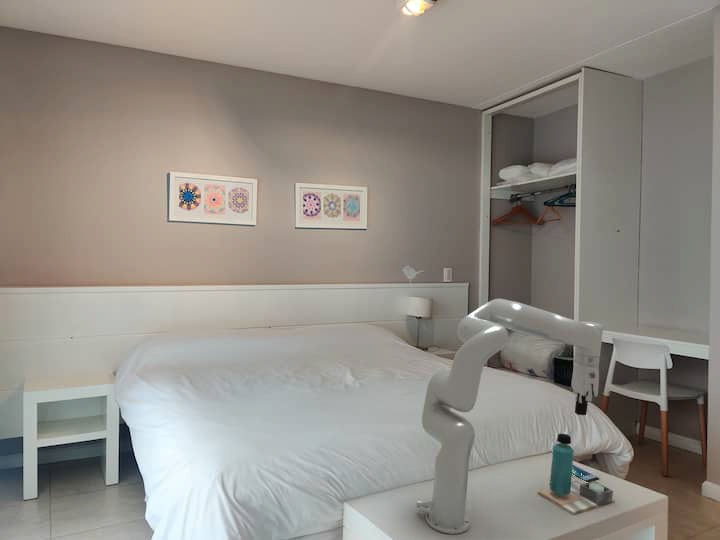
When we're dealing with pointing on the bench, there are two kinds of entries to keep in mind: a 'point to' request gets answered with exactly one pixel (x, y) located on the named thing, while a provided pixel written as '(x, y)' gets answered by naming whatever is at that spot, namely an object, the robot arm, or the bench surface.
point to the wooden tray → (586, 498)
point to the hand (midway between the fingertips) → (580, 414)
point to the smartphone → (578, 472)
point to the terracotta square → (559, 497)
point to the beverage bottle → (561, 466)
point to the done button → (596, 487)
